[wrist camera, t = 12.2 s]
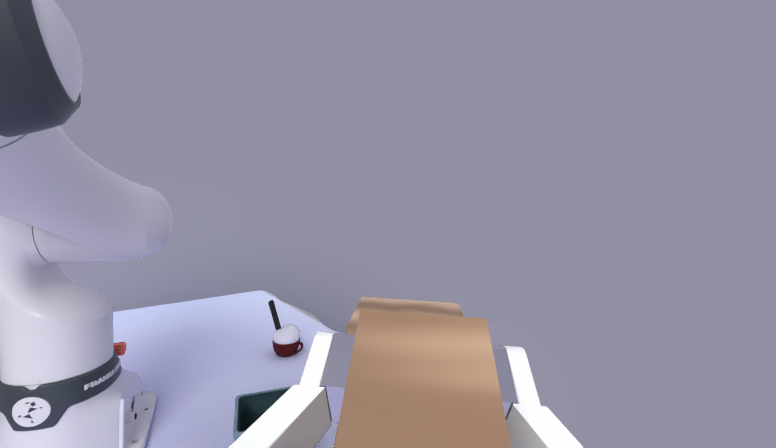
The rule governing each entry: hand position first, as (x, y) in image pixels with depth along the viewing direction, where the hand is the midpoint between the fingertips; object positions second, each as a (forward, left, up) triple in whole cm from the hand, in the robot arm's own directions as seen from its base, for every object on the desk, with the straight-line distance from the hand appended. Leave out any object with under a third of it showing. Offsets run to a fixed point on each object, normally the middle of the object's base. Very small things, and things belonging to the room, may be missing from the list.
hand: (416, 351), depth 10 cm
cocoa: (-73, -4, -35) cm, 81 cm away
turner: (-1, 0, -9) cm, 9 cm away
